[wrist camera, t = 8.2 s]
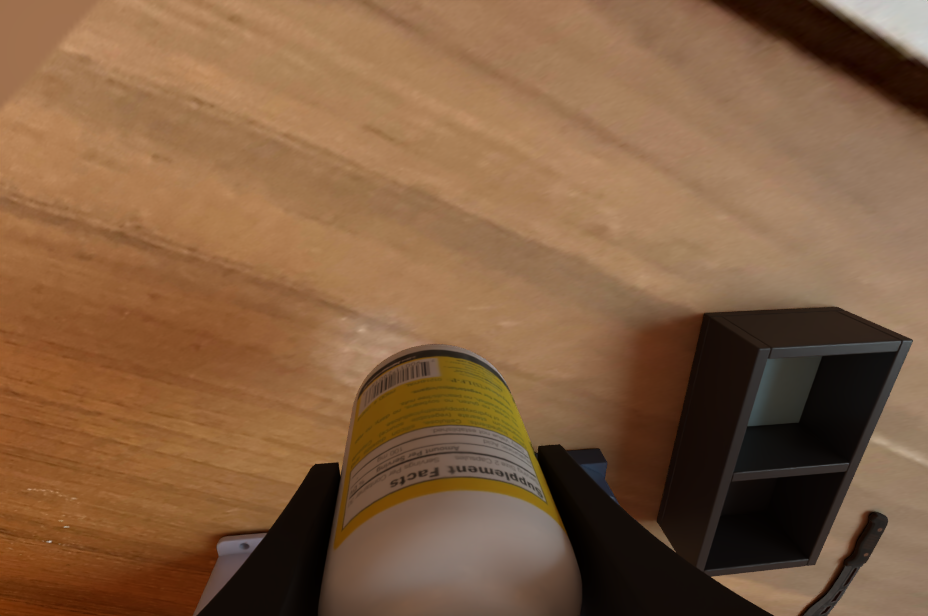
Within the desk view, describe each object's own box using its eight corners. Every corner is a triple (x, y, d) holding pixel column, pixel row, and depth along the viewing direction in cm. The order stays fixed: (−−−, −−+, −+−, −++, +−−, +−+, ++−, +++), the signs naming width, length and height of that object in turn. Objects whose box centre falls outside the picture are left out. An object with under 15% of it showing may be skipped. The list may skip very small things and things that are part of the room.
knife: (771, 651, 37) (803, 649, 37) (775, 657, 36) (807, 655, 37) (854, 510, 31) (891, 510, 31) (860, 515, 30) (898, 515, 31)
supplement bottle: (475, 484, 17) (550, 896, 8) (334, 450, 16) (230, 900, 7) (537, 365, 15) (725, 721, 6) (384, 316, 14) (339, 677, 5)
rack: (656, 521, 29) (692, 579, 25) (704, 312, 23) (759, 348, 20) (765, 510, 30) (815, 565, 26) (837, 306, 24) (914, 339, 20)
